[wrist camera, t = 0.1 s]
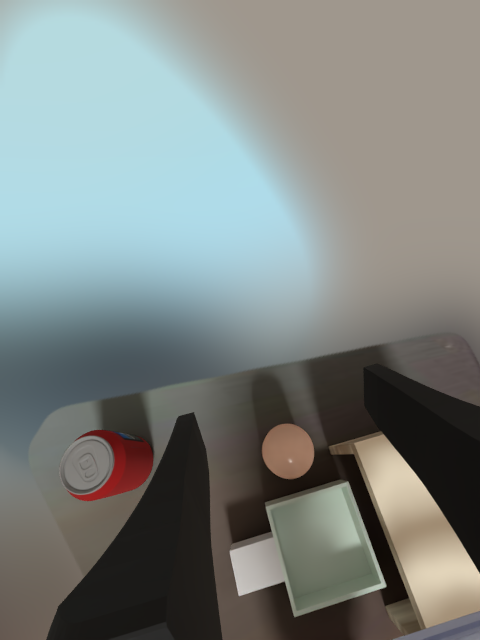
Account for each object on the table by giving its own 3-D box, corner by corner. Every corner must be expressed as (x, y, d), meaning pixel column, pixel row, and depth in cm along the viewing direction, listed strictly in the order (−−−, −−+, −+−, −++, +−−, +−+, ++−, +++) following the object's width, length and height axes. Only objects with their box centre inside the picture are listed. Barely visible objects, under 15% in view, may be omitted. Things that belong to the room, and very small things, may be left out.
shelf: (489, 583, 35) (594, 641, 24) (389, 617, 34) (451, 692, 23) (412, 421, 42) (467, 409, 31) (328, 446, 42) (354, 443, 31)
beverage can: (141, 425, 44) (103, 414, 33) (164, 469, 41) (131, 474, 30) (97, 455, 43) (42, 454, 32) (118, 502, 40) (66, 519, 29)
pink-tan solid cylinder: (310, 468, 41) (321, 470, 33) (268, 480, 40) (271, 485, 33) (295, 424, 43) (303, 417, 36) (256, 435, 43) (256, 431, 35)
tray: (374, 574, 36) (386, 586, 32) (247, 615, 35) (246, 632, 31) (340, 479, 40) (348, 481, 36) (225, 514, 39) (222, 519, 35)
